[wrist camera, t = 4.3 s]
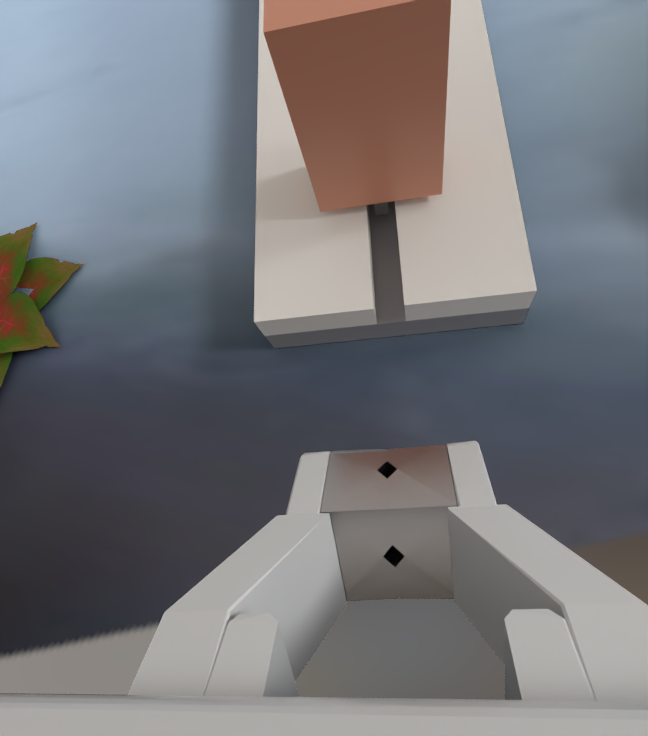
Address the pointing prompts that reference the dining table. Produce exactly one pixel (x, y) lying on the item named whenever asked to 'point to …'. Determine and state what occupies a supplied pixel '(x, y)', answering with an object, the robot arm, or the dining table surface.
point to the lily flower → (19, 311)
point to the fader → (364, 94)
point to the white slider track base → (394, 223)
